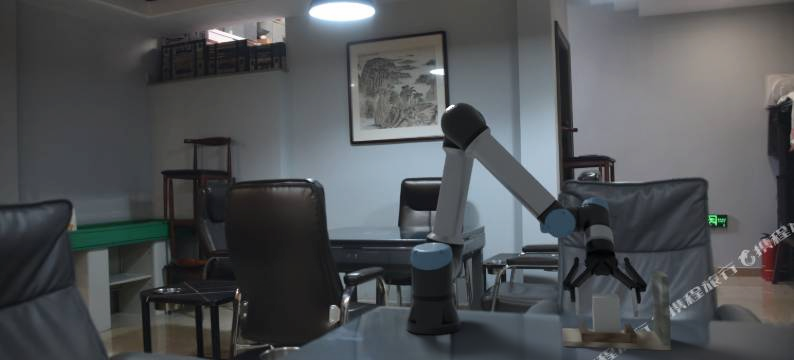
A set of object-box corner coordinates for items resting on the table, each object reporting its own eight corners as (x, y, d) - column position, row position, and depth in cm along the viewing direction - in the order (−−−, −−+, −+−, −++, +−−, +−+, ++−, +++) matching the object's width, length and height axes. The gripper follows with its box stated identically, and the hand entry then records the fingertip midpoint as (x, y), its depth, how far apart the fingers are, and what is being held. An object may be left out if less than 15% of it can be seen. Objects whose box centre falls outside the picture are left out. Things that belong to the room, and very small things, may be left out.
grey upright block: (595, 338, 141) (593, 297, 141) (593, 332, 147) (591, 293, 147) (621, 339, 140) (619, 298, 140) (617, 333, 145) (616, 293, 146)
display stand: (564, 346, 140) (561, 275, 140) (562, 332, 152) (560, 267, 152) (671, 350, 133) (668, 276, 134) (660, 336, 146) (657, 268, 146)
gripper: (647, 254, 155) (659, 322, 140) (552, 254, 161) (554, 319, 147) (650, 236, 150) (663, 305, 135) (551, 237, 156) (554, 303, 142)
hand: (606, 313), depth 141 cm, fingers open, 13 cm apart
